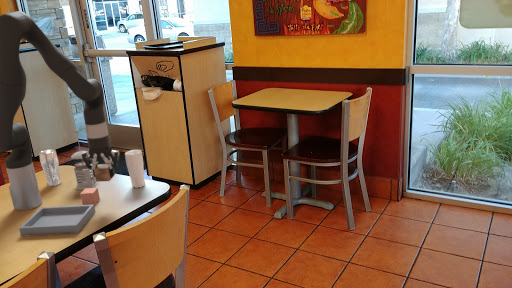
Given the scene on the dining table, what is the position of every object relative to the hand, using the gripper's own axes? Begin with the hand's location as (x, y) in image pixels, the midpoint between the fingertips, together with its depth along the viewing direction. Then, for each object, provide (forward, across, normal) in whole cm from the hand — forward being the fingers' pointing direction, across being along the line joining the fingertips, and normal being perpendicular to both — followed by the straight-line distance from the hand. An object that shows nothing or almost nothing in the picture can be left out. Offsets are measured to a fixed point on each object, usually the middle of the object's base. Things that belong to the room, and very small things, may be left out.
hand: (104, 177), depth 172 cm
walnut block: (+1, 0, 0) cm, 1 cm away
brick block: (+12, -9, +4) cm, 15 cm away
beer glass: (+12, -33, +26) cm, 44 cm away
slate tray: (+12, -14, -13) cm, 22 cm away
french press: (+12, -16, +22) cm, 30 cm away
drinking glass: (+12, +6, +18) cm, 22 cm away
